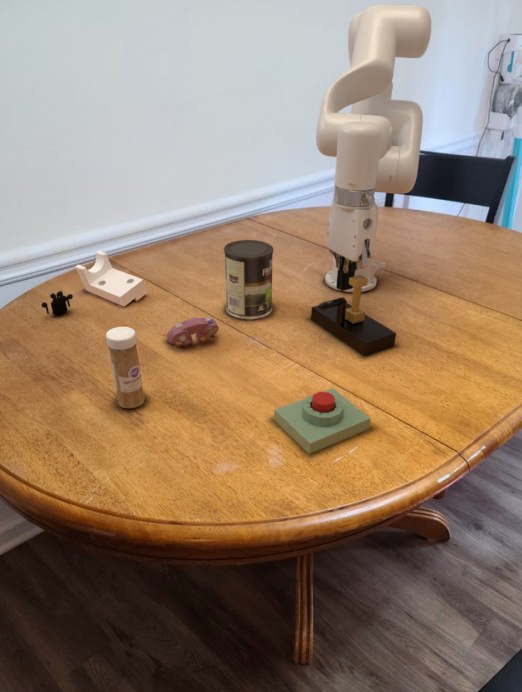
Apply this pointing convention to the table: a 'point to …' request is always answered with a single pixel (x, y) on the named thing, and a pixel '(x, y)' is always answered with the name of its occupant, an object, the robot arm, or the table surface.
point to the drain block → (321, 422)
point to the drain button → (323, 402)
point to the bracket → (111, 282)
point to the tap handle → (356, 300)
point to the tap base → (352, 327)
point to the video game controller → (192, 330)
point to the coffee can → (248, 279)
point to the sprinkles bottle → (125, 366)
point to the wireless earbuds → (58, 303)
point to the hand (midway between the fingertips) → (344, 288)
